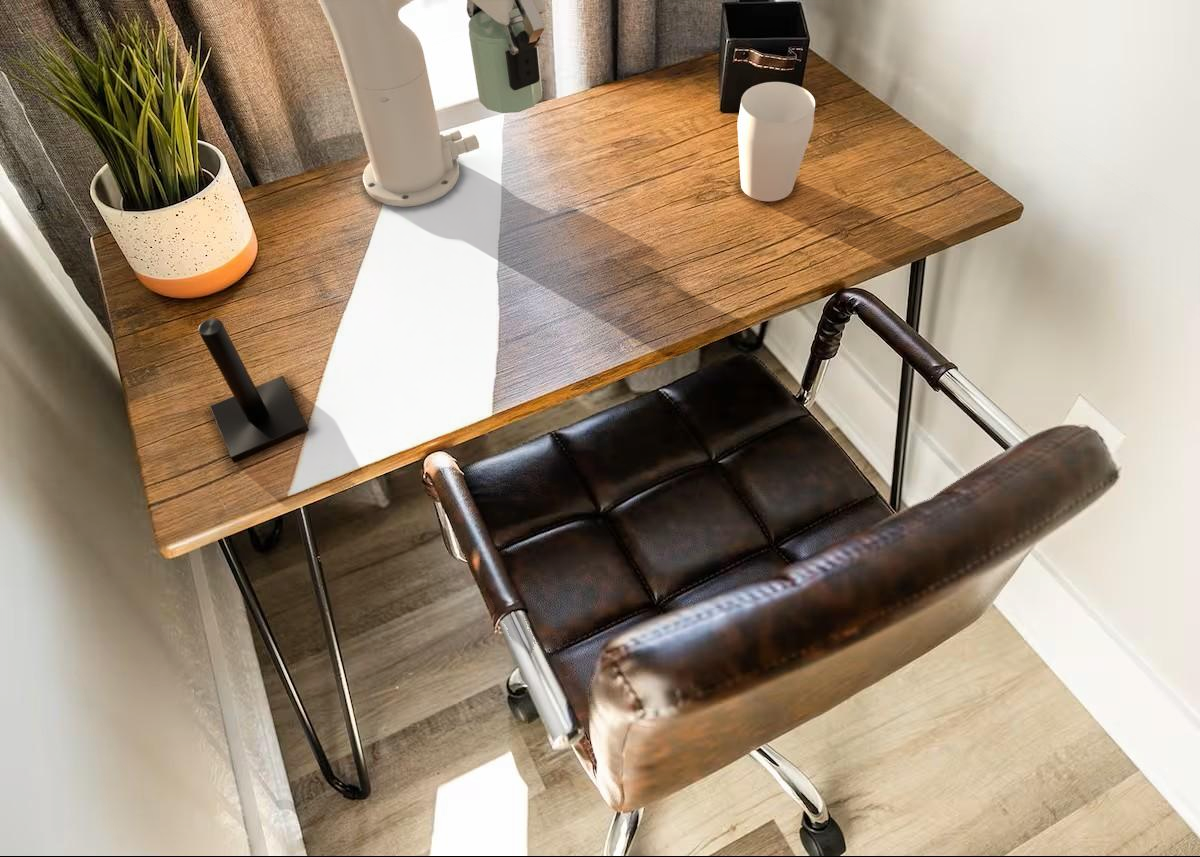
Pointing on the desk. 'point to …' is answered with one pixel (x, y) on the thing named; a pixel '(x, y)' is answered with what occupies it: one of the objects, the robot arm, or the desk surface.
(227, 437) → the peg
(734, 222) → the desk surface
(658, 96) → the desk surface
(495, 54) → the upturned cup
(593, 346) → the desk surface
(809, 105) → the cup
